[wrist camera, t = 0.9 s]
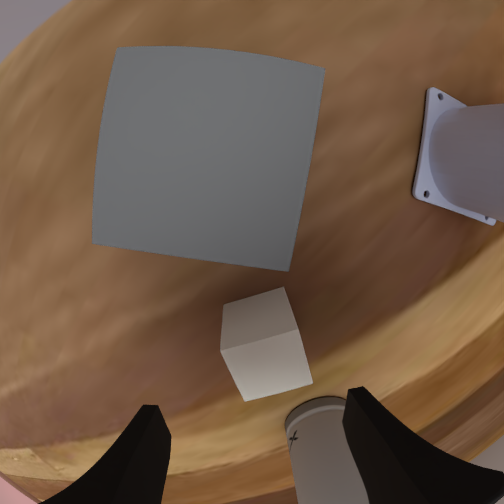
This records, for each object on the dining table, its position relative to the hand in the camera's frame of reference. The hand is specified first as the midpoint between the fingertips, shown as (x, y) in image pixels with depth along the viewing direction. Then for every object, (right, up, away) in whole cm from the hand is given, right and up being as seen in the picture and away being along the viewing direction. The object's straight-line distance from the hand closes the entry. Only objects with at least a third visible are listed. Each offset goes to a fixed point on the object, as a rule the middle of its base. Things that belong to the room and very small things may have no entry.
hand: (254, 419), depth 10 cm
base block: (-3, +12, +6) cm, 14 cm away
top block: (+1, +2, +9) cm, 10 cm away
